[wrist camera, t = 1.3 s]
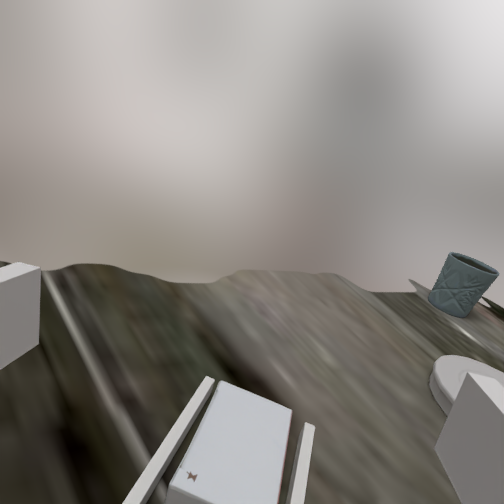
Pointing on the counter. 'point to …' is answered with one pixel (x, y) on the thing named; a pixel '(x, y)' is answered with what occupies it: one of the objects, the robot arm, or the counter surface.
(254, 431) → the small box
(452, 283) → the drinking glass
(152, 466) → the guide channel
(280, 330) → the counter surface
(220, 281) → the counter surface
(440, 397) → the lid
